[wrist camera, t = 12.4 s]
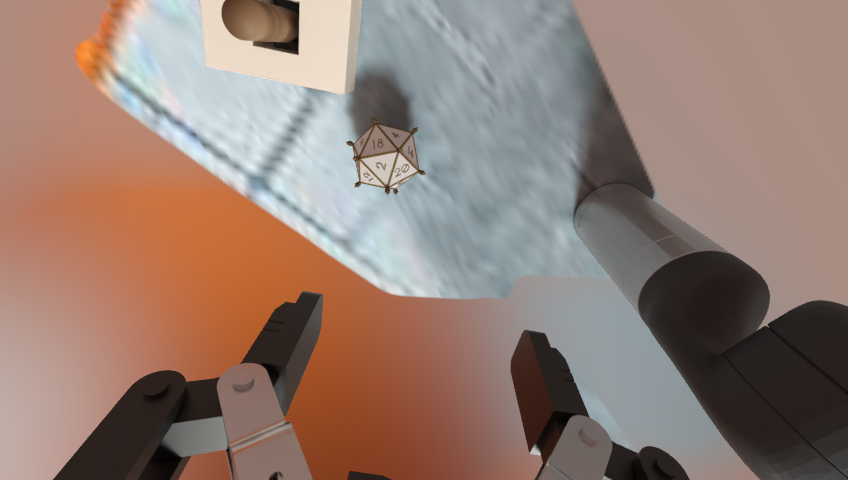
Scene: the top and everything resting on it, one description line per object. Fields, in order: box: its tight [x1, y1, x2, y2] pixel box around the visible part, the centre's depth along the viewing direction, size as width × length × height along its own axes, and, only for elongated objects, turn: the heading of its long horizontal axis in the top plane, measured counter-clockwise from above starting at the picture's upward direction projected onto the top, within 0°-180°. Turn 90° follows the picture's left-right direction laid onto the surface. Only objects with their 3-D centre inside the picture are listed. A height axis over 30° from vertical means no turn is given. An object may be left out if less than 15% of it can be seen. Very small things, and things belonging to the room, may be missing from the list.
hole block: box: [200, 0, 362, 95], centre depth 36 cm, size 14×10×5 cm
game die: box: [346, 115, 426, 195], centre depth 40 cm, size 9×8×10 cm
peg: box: [221, 0, 299, 43], centre depth 33 cm, size 3×3×12 cm
